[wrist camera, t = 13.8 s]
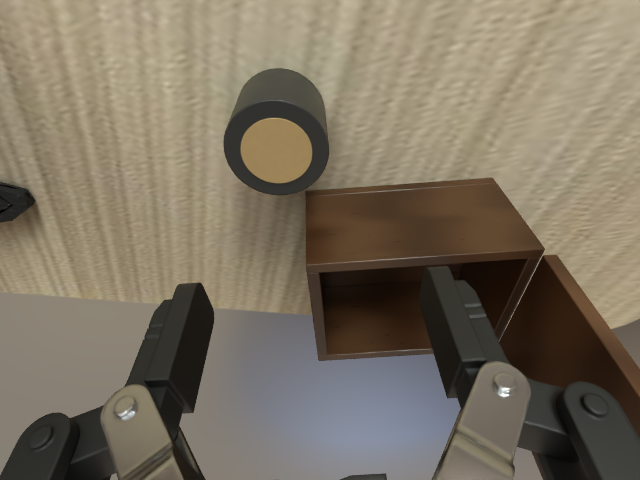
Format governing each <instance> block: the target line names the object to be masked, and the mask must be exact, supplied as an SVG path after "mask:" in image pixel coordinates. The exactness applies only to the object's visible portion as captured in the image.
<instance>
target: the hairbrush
mask: <svg viewBox="0 0 640 480" xmlns="http://www.w3.org/2000/svg"><path fill="white" fill-rule="evenodd" d="M34 202H35V199H34V198H33V196H32V195H31V194H30V192H29V191H28V190H27V189H23V188H20V187H16V186H12V185H9V184H5V183H1V182H0V222H6V221H12V220H14V219H15V218H16V217H18V216H19V215H20V214H22V213H23V212H24V211H26V210H27V209H28V208H29V207H30V206H32V205H33V203H34ZM10 203H11V205H10V206H8V205H9V204H10ZM6 206H8V207H7V208H6V209H3V208H5V207H6Z"/></svg>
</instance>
